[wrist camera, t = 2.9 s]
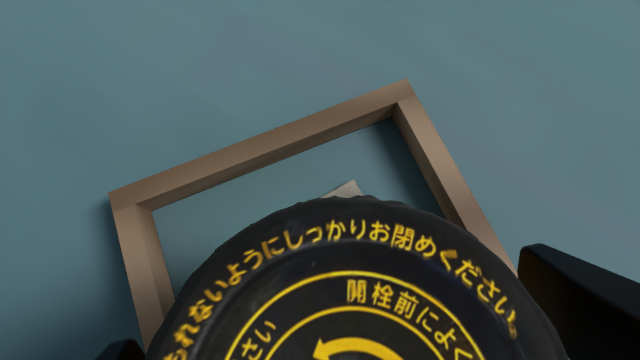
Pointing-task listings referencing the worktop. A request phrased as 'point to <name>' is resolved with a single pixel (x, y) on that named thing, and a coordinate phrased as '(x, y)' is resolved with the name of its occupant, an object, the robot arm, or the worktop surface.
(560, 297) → the robot arm
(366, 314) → the condiment
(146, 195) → the walnut frame
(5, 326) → the worktop surface
